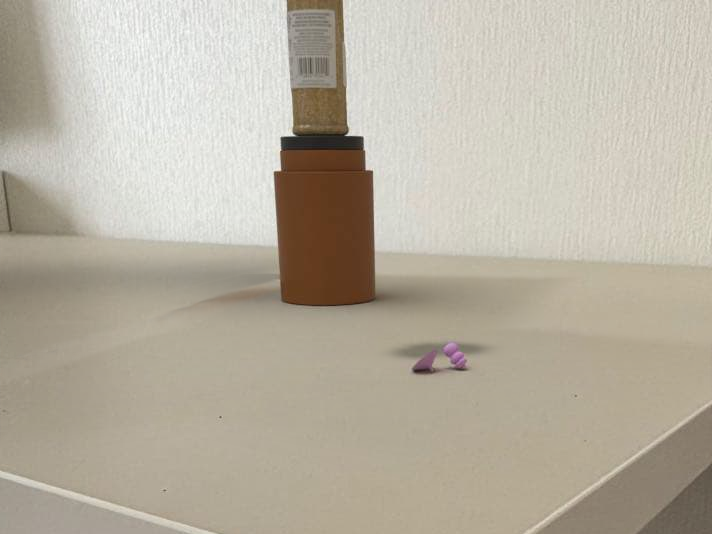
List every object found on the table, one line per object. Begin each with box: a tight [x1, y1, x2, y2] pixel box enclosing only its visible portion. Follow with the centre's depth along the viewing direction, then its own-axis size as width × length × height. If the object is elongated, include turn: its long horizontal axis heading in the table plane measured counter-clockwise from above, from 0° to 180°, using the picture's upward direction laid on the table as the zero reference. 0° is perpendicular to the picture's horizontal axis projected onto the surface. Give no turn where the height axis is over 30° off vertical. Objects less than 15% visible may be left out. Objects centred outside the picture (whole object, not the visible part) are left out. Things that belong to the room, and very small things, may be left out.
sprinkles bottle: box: [286, 0, 350, 136], centre depth 67 cm, size 5×5×14 cm
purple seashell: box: [411, 342, 468, 373], centre depth 49 cm, size 3×2×2 cm
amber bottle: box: [273, 135, 376, 306], centre depth 72 cm, size 8×8×12 cm
